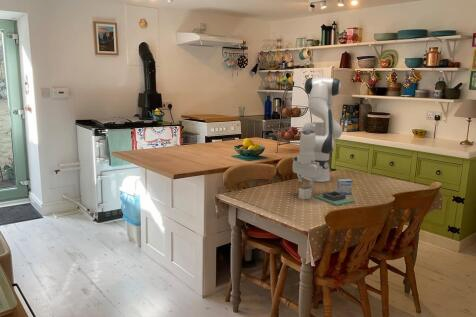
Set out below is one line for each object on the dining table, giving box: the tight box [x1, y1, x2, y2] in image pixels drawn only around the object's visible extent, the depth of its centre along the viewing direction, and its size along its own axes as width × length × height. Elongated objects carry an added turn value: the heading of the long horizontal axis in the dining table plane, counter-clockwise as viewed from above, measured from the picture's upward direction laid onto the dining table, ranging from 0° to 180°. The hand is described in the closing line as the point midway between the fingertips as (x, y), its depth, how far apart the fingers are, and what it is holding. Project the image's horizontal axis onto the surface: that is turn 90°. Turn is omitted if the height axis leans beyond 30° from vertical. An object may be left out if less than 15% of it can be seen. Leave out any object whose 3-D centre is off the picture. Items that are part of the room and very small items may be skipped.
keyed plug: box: [298, 185, 313, 200], centre depth 224 cm, size 4×6×7 cm, turn 121°
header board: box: [313, 190, 356, 207], centre depth 221 cm, size 18×14×4 cm
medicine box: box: [335, 178, 353, 196], centre depth 233 cm, size 8×4×9 cm, turn 101°
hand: (305, 183), depth 222 cm, fingers open, 8 cm apart
